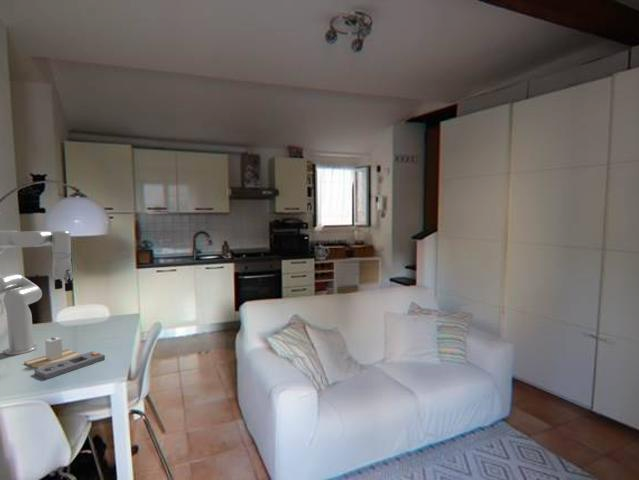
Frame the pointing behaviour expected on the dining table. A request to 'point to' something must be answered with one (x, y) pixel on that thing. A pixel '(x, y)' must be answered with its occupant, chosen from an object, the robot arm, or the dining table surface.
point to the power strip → (69, 365)
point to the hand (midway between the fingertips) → (63, 289)
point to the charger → (53, 348)
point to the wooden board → (44, 362)
